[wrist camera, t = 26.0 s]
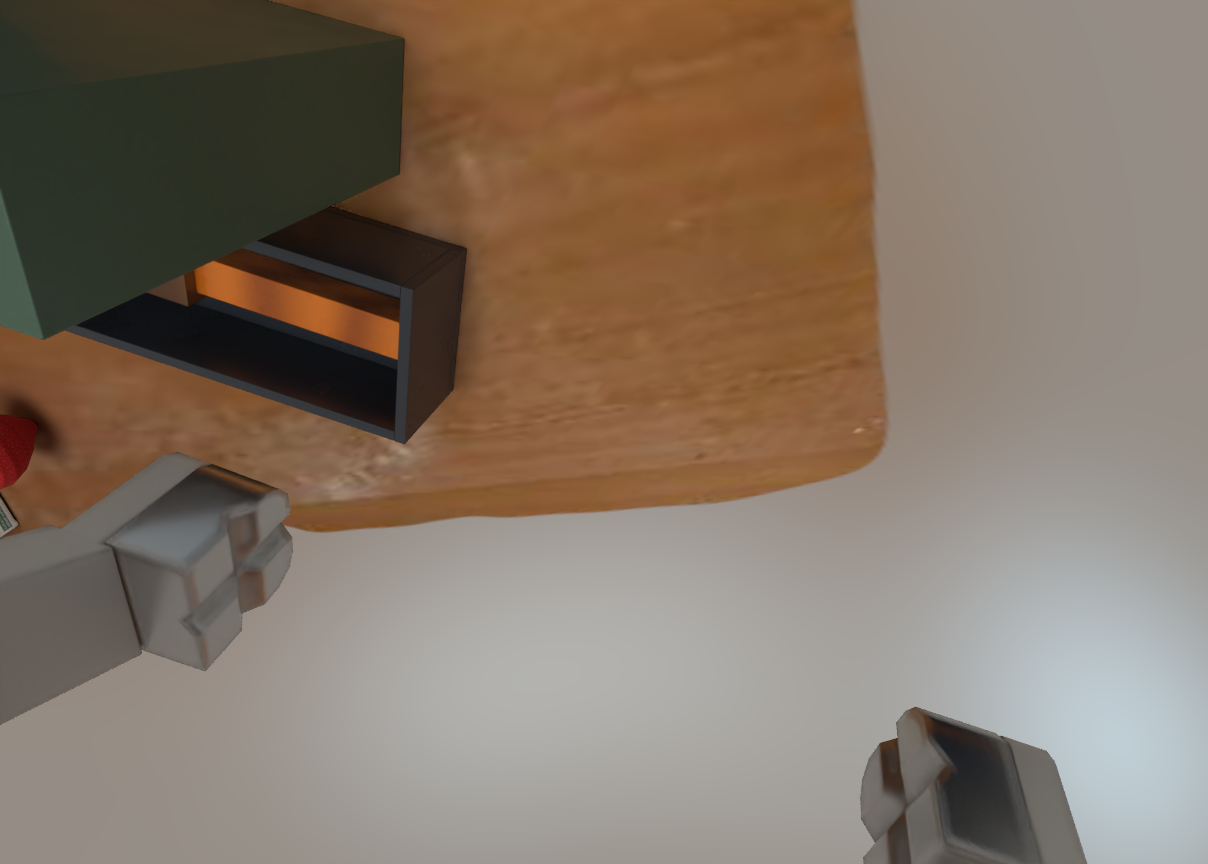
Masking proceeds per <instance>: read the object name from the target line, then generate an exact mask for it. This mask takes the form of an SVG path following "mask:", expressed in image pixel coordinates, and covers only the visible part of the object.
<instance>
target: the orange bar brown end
mask: <svg viewBox="0 0 1208 864" xmlns="http://www.w3.org/2000/svg"><path fill="white" fill-rule="evenodd" d="M146 293H149V294H152V295H155V296H158V297H161V298H164V299H167V300H170V301H173V302H176V303H179V304H182V305H185V306H191V305H192V304H194V303H196V302H198V301H200V300H202V299H204V298H206V297H208V296H209V297H212V298H215V299H218V300H221V301H224V302H227V303H230V304H233V305H236V306H239V307H242V308H245V309H248V310H251V311H254V312H257V313H260V314H263V315H266V316H269V317H271V318H274V319H277V320H280V321H283V322H286V323H289V324H292V325H295V326H298V327H301V328H304V329H307V330H310V331H313V332H316V333H319V334H322V335H325V336H328V337H331V338H334V339H337V340H340V341H343V342H346V343H349V344H352V345H355V346H358V347H361V348H364V349H367V350H370V351H373V352H376V353H378V354H381V355H384V356H387V357H390V358H393V359H396V360H398V343H399V319H400V300H398V299H395V298H392V297H389V296H386V295H383V294H380V293H377V292H374V291H371V290H368V289H365V288H362V287H359V286H355V285H352V284H349V283H346V282H343V281H340V280H337V279H334V278H331V277H328V276H325V275H322V274H319V273H316V272H313V271H310V270H307V269H304V268H301V267H298V266H295V265H292V264H289V263H286V262H283V261H279V260H276V259H273V258H270V257H267V256H264V255H261V254H258V253H255V252H252V251H249V250H246V249H243V248H240V249H238V250H236V251H234V252H231V253H229V254H227V255H225V256H223V257H221V258H218V259H216V260H214V261H212V262H210V263H208V264H206V265H203V266H201V267H199V268H197V269H195V270H193V271H191V272H188V273H186V274H184V275H182V276H180V277H178V278H176V279H173V280H171V281H169V282H167V283H165V284H163V285H161V286H158V287H156V288H154V289H152V290H150V291H148V292H146Z"/></svg>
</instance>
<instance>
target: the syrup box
mask: <svg viewBox="0 0 1208 864" xmlns="http://www.w3.org/2000/svg"><path fill="white" fill-rule="evenodd" d="M17 525H18V522H17V521H16V520H15V519H14V518H13V517H12V515H11V513H10V512H9V510H8V508H7V507H6V505H5V504H4V502H3V500H2V499H1V497H0V537H1V536H3V535H4V534H6V533H8V532H9V531H11V530H12V529H14V528H15V527H16V526H17Z"/></svg>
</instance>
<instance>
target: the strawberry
mask: <svg viewBox="0 0 1208 864" xmlns="http://www.w3.org/2000/svg"><path fill="white" fill-rule="evenodd" d="M37 431H38V428H37V425H36V423H35V422H34V421H32V420H30V419H27V418H17V417H12V416H7V415H0V489H2V488H5V487H8V486H10V485H13V484H14V483H15V482H16V481H17V480H18V479H19V477H20V476H21V475H22V474H23V473H24V472H25V471H26V469H27V468H28V465H29V462H30V459H31V456H32V453H33V450H34V444H35V438H36V434H37Z"/></svg>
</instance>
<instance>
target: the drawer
mask: <svg viewBox="0 0 1208 864" xmlns="http://www.w3.org/2000/svg"><path fill="white" fill-rule="evenodd" d="M242 248H243V249H246V250H249V251H252V252H255V253H258V254H261V255H264V256H267V257H270V258H273V259H276V260H279V261H283V262H286V263H289V264H292V265H295V266H298V267H301V268H304V269H307V270H310V271H313V272H316V273H319V274H322V275H325V276H328V277H331V278H334V279H337V280H340V281H343V282H346V283H349V284H352V285H355V286H359V287H362V288H365V289H368V290H371V291H374V292H377V293H380V294H383V295H386V296H389V297H392V298H395V299H398V300H400V319H399V343H398V360H396V359H393V358H390V357H387V356H384V355H381V354H378V353H376V352H373V351H370V350H367V349H364V348H361V347H358V346H355V345H352V344H349V343H346V342H343V341H340V340H337V339H334V338H331V337H328V336H325V335H322V334H319V333H316V332H313V331H310V330H307V329H304V328H301V327H298V326H295V325H292V324H289V323H286V322H283V321H280V320H277V319H274V318H271V317H269V316H266V315H263V314H260V313H257V312H254V311H251V310H248V309H245V308H242V307H239V306H236V305H233V304H230V303H227V302H224V301H221V300H218V299H215V298H212V297H209V296H208V297H206V298H204V299H202V300H200V301H198V302H196V303H194V304H192V305H191V306H185V305H182V304H179V303H176V302H173V301H170V300H167V299H164V298H161V297H158V296H155V295H152V294H149V293H143V294H141V295H139V296H137V297H135V298H133V299H131V300H128V301H126V302H124V303H122V304H120V305H118V306H116V307H113V308H111V309H109V310H107V311H105V312H103V313H101V314H98V315H96V316H94V317H92V318H90V319H88V320H85V321H83V322H81V323H79V324H77V325H75V326H73V327H70V328H68V329H66V330H65V331H68V332H71V333H74V334H77V335H80V336H83V337H86V338H89V339H92V340H95V341H98V342H101V343H104V344H107V345H110V346H113V347H116V348H119V349H122V350H125V351H128V352H131V353H134V354H137V355H140V356H143V357H146V358H149V359H152V360H155V361H158V362H161V363H164V364H167V365H170V366H173V367H176V368H179V369H182V370H185V371H188V372H191V373H194V374H197V375H200V376H202V377H205V378H208V379H211V380H214V381H217V382H220V383H223V384H226V385H229V386H232V387H235V388H238V389H241V390H244V391H247V392H250V393H253V394H256V395H259V396H262V397H265V398H268V399H271V400H274V401H277V402H280V403H283V404H286V405H289V406H292V407H295V408H298V409H301V410H304V411H307V412H310V413H313V414H316V415H319V416H322V417H325V418H328V419H331V420H334V421H337V422H340V423H343V424H346V425H349V426H352V427H355V428H358V429H361V430H364V431H367V432H370V433H373V434H376V435H379V436H382V437H385V438H388V439H391V440H394V441H396V442H399V443H402V444H405V443H406V442H407V441H408V440H409V439H410V438H411V437H412V436H413V434H414V433H415V432H416V431H417V430H418V429H419V428H420V426H421V425H422V424H423V423H424V422H425V421H426V420H427V419H428V417H429V416H430V415H431V414H432V413H433V412H434V411H435V410H436V408H437V407H438V406H439V405H440V404H441V403H442V402H443V400H444V399H445V398H446V397H447V396H448V395H449V394H450V393H451V392H452V390H453V383H454V372H455V362H456V352H457V342H458V331H459V321H460V311H461V301H462V290H463V280H464V270H465V260H466V248H463V247H460V246H456V245H453V244H450V243H447V242H443V241H440V240H437V239H433V238H430V237H427V236H424V235H420V234H417V233H414V232H411V231H407V230H404V229H401V228H397V227H394V226H391V225H388V224H384V223H381V222H378V221H374V220H371V219H368V218H365V217H361V216H358V215H355V214H352V213H348V212H345V211H342V210H338V209H335V208H332V207H328V208H326V209H324V210H321V211H319V212H317V213H315V214H313V215H311V216H309V217H306V218H304V219H302V220H300V221H298V222H296V223H294V224H291V225H289V226H287V227H285V228H283V229H281V230H279V231H276V232H274V233H272V234H270V235H268V236H266V237H264V238H261V239H259V240H257V241H255V242H253V243H251V244H249V245H246V246H244V247H242Z"/></svg>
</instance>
